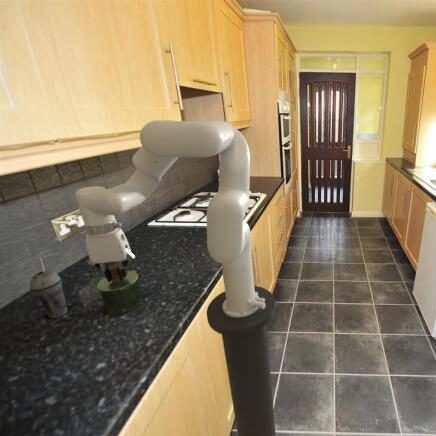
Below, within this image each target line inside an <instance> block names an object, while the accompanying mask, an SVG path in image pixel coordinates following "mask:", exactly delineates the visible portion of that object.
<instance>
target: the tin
mask: <svg viewBox="0 0 436 436" xmlns="http://www.w3.org/2000/svg"><path fill="white" fill-rule="evenodd" d="M99 292H100V294H101V298H102V301H103V304H104V307H105V309H106V312H107V313H108V314H110V315H122V314H125V313H129V312H131V311H133V310H134V309H135V310H136V308H138V307H139V306H140V305H141V304H142V303H143V301H144V296H143V293H142V289H141V285H140V282H139V278H138V279H137V280H136V281H135V282H134V283H133V284H132V285H130V286H128V287H126V288H123V289H121V290H117V291H112V292H101V291H99Z"/></svg>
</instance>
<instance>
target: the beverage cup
mask: <svg viewBox="0 0 436 436" xmlns="http://www.w3.org/2000/svg"><path fill="white" fill-rule="evenodd" d="M39 263H40V267H41V271H39V272H37V273H35V274H34V275H33V276H32V277H31V279H30V281H29V289H30V291H31V292H32V293H33V294H34V295H35V296H36V298H37V300H38V302H39V303H40V304H41V306H42V308H43V310H44V312H45V313H46V315H48V317H49V319H57V318H61V317H62V316H64V315H66V314H67V313H68V304H67V301H66V298H65V297H66V296H65V293H64V290H63V282H62V277H60V275H59V274H58V273H57V272H55V271H52V270H46V269H45V266H44V262H43V258H42V257H39Z"/></svg>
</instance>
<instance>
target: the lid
mask: <svg viewBox="0 0 436 436" xmlns="http://www.w3.org/2000/svg"><path fill="white" fill-rule="evenodd" d="M118 270H119V267H118V265H117V264H114V265H111V266H110V267H109V272H110V275H111V278H112V281H111V282H108V281H107V279H106V277H104V278H102V279H101V280H100V281H99V282H98V283H97V285H96V289H97V291H99V292H100V291H101V292H112V291H117V290H121V289H123V288H126V287H128V286H130V285H132V284H133V283H134V282H135V281H136V280H137V279H138V280H139V273H137V272H136V271H134V270H127V276H126V277H125V279H124V280H120V276H119V273H118ZM101 292H100V293H101Z"/></svg>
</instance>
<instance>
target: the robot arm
mask: <svg viewBox="0 0 436 436" xmlns="http://www.w3.org/2000/svg"><path fill="white" fill-rule="evenodd" d="M139 141H140V144H141V146H140V147H139V149H138V150H137V151H136V152H135V154H133V156H132V159H131V161H132V164H133V166H134V167H135V169H136V170H135V171H134V173H133V174H132V175H131V176H130V177H129V179H128V180H127V181H125V182H124V183H121V184H119V185H116V186H113V187H111V188H107V189H106V188H105V187H103V186H88V187H82V188H79V189H78V190H76V191H75V193H74V195H75V199H76V202H77V205H78V208H79V211H80V214H81V218H82V220H83V225H84V227H85V229H86V234H85V245H86V250H87V254H88V261H87V264H88V265H89V266H93V267H95V268H97V269H99V270H100V271H101V272H103V274H104V278H106V279H107V281H108V282H111V281H112V278H111V275H110V272H109V267H111V266H110V263H115V262H116V265H118V267H119V270H118V273H119V276H120V280H124V279H125V277H126V276H127V271H128V269H127V267H126V266H127V265H128V264H129V263H131V262H133V261H134V260H135V258H136V256H135V255H134V254H133V253H132V250H131V247H130V244H129V241H128V239H127V237H126V235H125V233H124V231H123V230H122V228H121V227H122V225H123V224H122V222H118V221H117V219H116V217H115V216H119V215H123V214H124V213H126V212H128V211H130V210H132V209H134V208H135V207H137V206H139V205H141V204H142V203H143V202H144V201H146V200H147V199H148V197H149V196H151V194H152V193H154V191H155V190H156V189H157V187H158V186H159V184H160V182H161V181H162V177H163V176H164V174H166V172H167V171H168V170H169V169H170V168H171V167H172V166H173V164H174V163H176V161H177V160H178V159H179V158H208V157H214V156H217V155H219V166H218V190H217V193H215V194H214V196H212V198H210V201H209V202H208V204H207V209H206V246H207V252H208V254H209V255H210V257H211V258H212V260H214V261H215V262H216V263H218V264H221V272H222V279H223V286H224V291H225V294H226V300H225V301H224V303H223V311H224V313H225V314H226V315H228V316H230V317H234V318H241V317H246V316H248V315H251V314H253V313H254V312H255V311H256V310H257V309H258V308H261V309H264V308H265V303H264V302H265V299H264V298H259V297H258V292H255V290H254V286H255V280H254V270H253V258H252V257H253V256H252V232H251V229H250V226H249V224H248V223H247V222H246V220H244V217H245V215H246V214H247V212H248V210H249V208H250V184H251V183H250V179H251V178H250V177H251V174H250V173H251V171H250V170H251V156H250V154H251V153H250V148H249V144H248V142H247V139H246V138H245V136H244V135H243V134H242V133H241V131H240V130H238V128H237V127H235V126H234V125H232V124H230V123H229V122H226V121H224V120H218V119H208V120H172V119H160V120H159V119H158V120H152V121H149V122H147V123H146V124H145V125H143V126H142V128H141V129H140V133H139ZM262 302H263V303H262Z"/></svg>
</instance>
